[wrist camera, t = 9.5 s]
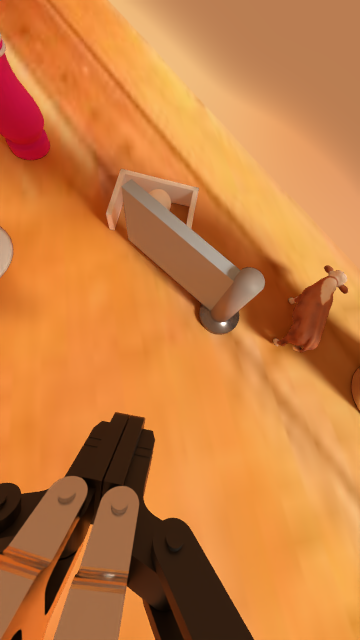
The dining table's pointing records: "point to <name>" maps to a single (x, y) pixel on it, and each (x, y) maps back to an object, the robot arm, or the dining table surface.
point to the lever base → (216, 326)
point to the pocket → (175, 191)
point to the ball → (161, 197)
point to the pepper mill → (20, 115)
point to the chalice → (5, 251)
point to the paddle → (188, 256)
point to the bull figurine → (313, 311)
